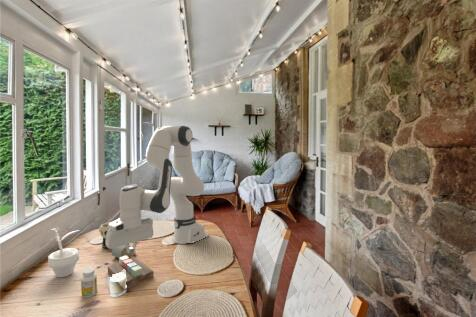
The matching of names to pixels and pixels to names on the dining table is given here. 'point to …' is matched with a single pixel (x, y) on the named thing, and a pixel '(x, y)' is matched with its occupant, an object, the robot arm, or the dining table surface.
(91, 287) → the supplement bottle
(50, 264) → the potted plant
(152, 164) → the robot arm
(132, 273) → the key sage
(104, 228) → the character mug
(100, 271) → the dining table surface
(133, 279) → the key panel
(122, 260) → the key ivory
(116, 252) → the ceramic mug
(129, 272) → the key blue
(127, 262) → the key brick
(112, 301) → the dining table surface
